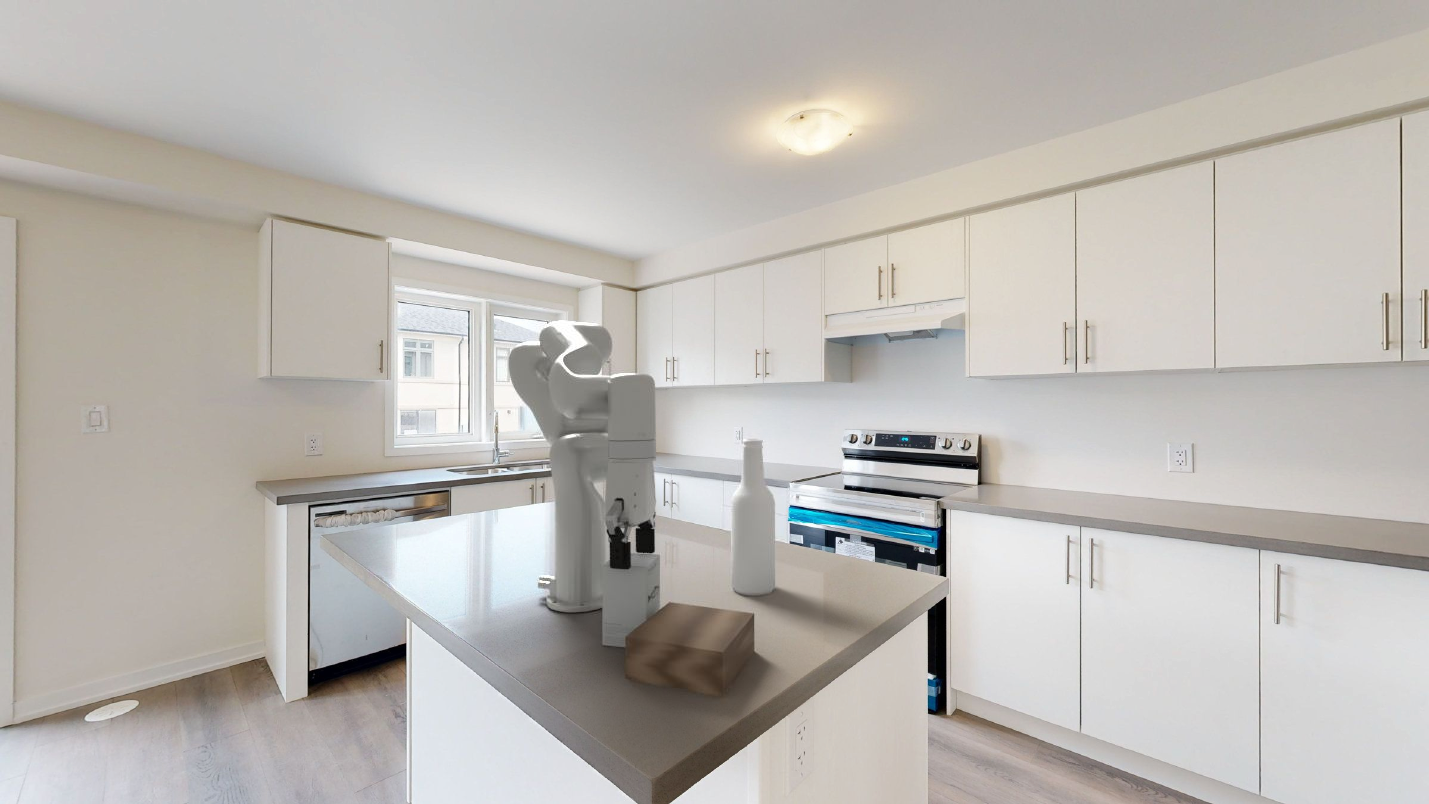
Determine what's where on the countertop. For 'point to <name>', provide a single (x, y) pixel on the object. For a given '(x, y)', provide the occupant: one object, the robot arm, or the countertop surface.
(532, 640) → the countertop surface
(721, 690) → the walnut block
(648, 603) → the supplement box
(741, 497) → the white bottle
